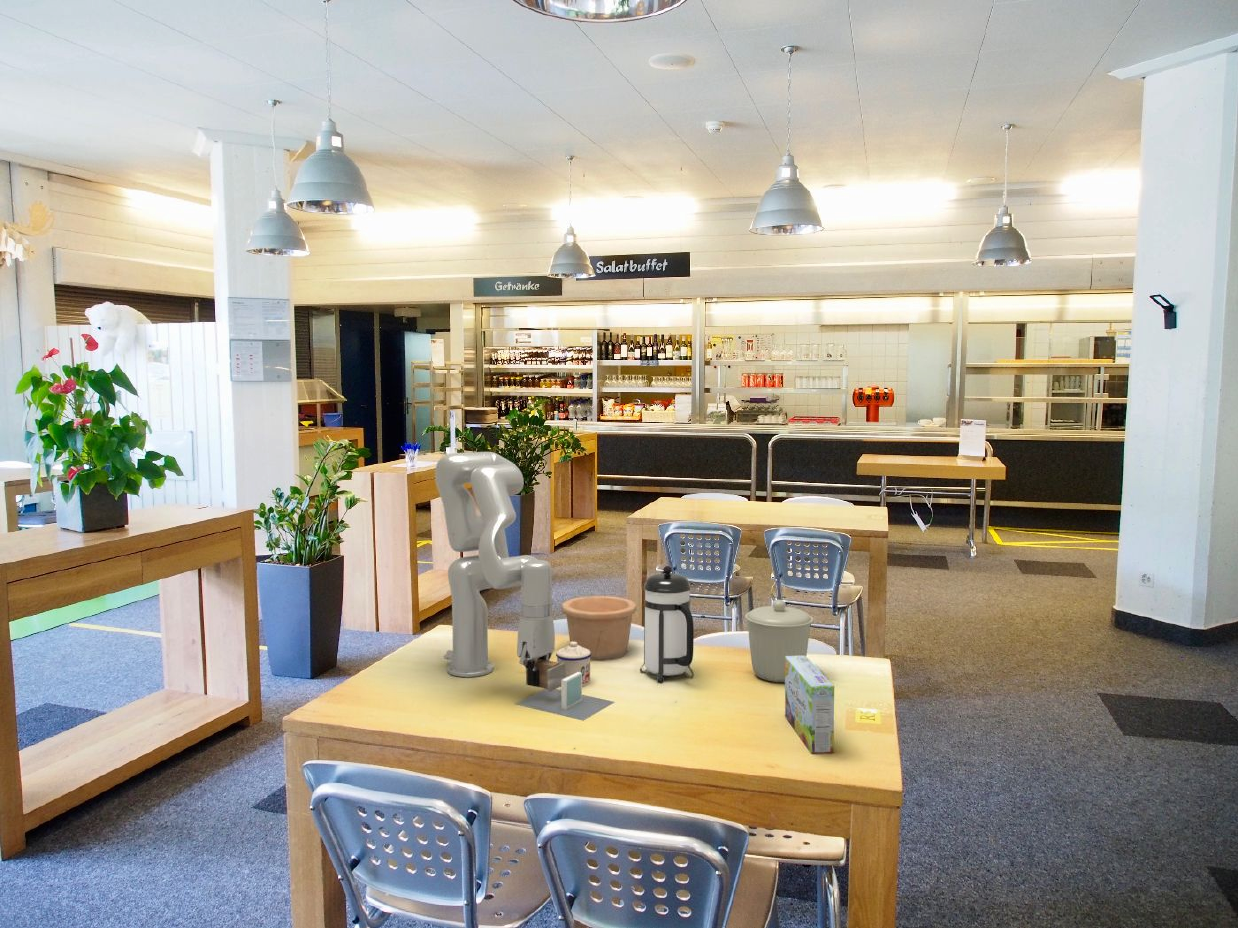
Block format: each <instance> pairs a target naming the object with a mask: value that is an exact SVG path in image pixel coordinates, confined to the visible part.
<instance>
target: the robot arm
mask: <svg viewBox="0 0 1238 928" xmlns="http://www.w3.org/2000/svg"><path fill="white" fill-rule="evenodd" d="M434 470H435V471H434V480H435V485H436V488H437V491H438V493H439V496H440V499H441V501H442V505H443V512H444V518H445V526H446V531H447V538H448V542H449V543H448V544H449V545H450V548H451V550H453V551H455V552H458V553H466V552H475V551H477V552H478V554H477V555H475V554H474V555H471V556H464V557H459V558H458V559H457V558H456V559H455V560H454V561H452V562H451V563H450V565H449V567H448V570H447V580H448V583H449V584H448V585H449V590H450V595H451V615H452V616H451V618H452V650H451V649H448V650H447V651H446V653H445V654H444V655H443V659H445V660H449V664H448V666H447V668H446V669H447V670H446V671H447V673H448V674H449V675H451V676H454V677H462V678H474V677H480V676H484V675H487V674H490V673H492V672H493V671H494V668H495V667H494V663H493V662H491V661H489V643H488V642H489V638H488V636H489V635H488V634H489V632H488V631H489V630H488V627H489V625H488V618H489V617H488V606H487V602H486V601H485V599H484V597H482V595H481V593H480V591H483V590H487V589H488V590H489V589H495V590H502V589H503V590H504V589H510V588H515V587H520V593H521V594H520V596H521V597H520V598H521V599H520V601H521V602H520V603H521V604H520V605H521V607H520V609H521V617H520V618H519V622H518V628H517V629H518V631H517V657H518V658H520V659H519V660H518V661H519V665H522V666H524V667H525V671H526V670H527V684H528V685H527V686H531V687H536V688H539V687H538V686H539V671H538V670H537V664H538V659H542V660H547V661H551V660H550V659H551V657H552V655H553V654H554V652H555V650H556V648H555V646H556V638H555V637H556V636H555V624H554V623H555V622H554V617H553V587H552V586H553V585H552V584H553V581H552V565H551V563H550V562H549V561H547V560H544V559H538V558H536V557H535V556H533V555H529V554H528V555H527V554H524V555H518V556H517V555H516V556H509V549H508V542H507V538H506V537H507V536H506V530H505V529H507V528H508V527H509V526H510V525H512V524H513V523H514V522H515V521H516V519H517V513H516V511H515V508H514V505H513V502H512V500H511V498H510V496H515V495H518V494H520V492H522V490H523V488H524V476H523V473H522V471H521V470H520V468H519V467H518V466H517V465H516V464H514V462H512V461H511V460H509V459H507V458H505V457H503V456H502V455H500V454H498V453H496V452H494V451H476V452H473V451H472V452H456V453H450V454H447V455H444V456H442V457H441V458H439V459H438V461H437V463H436V465H435V469H434ZM464 484H465V485H466V484H470V487H471V490H472V494H473V495H472V494H471V492H470V491H469V490H468V489H467V488H466V487H465V486H464ZM473 496H474V497H473ZM474 498H475V499H474ZM475 501H476V503H475ZM476 505H477V507H478V510H479V513H480V515H478V513H477V511H476ZM530 660H531V661H533V664H532V662H530Z"/></svg>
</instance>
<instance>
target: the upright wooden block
mask: <svg viewBox="0 0 1238 928" xmlns="http://www.w3.org/2000/svg"><path fill="white" fill-rule="evenodd" d="M530 662H532V664H533V661H531V660H530ZM537 670H538V671H539V686H538V687H537V688H540V689H548V692H550V691H552V690H554V689H558V688H560V687H561V680H563V679H565V678H566V663H562V664H560V665H559V663H558V662H557V661H551V660H549V661H547V660H542V659H538V664H537ZM525 678H526V679H525V683H526V685H527V686H529V685H528V684H527V670H526V669H525Z"/></svg>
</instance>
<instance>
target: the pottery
mask: <svg viewBox="0 0 1238 928" xmlns="http://www.w3.org/2000/svg"><path fill="white" fill-rule="evenodd" d="M637 607H638V606H637V604H636V602H634V601H633V600H631V599H628V598H623V597H619V596H612V595H592V596H591V595H590V596H588V595H587V596H580V597H575V598H574V597H573V598H571V599H568V600H566V601H564V602H563V603H562V604H561V610H562V613H563V614H565V615H566V623H567V630H568V637H569V643H570V642H577V645H579V646H581V647H583V648H586V649H588V650H589V651H590V653H591V656H590V661H609V660H616V659H619V658H622V657H624V656H626V654H627V653H628V650H629V649H628V648H629V641H630V633H631V628H632V621H633V615H634V614H635V613H636V611H637Z"/></svg>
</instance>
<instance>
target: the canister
mask: <svg viewBox="0 0 1238 928" xmlns="http://www.w3.org/2000/svg"><path fill="white" fill-rule="evenodd" d="M744 618H745V619H746V621H747V629H748V631H747V632H748V640H749V652H750V658H751V666H752V670H753V672H754V674H755V675H756V677H758V678H760V679H761V680H764V681H768V682H775V683H785V656H806V657H807V654H808V649H809V647H808V646H809V640H810V639H809V638H810V633H811V624H813V622H814V617H813V616H812V615H811V614H809V613H807V612H806V611H805V610H803V609H799V608H795V607H791V606H790V607H789V606H787V604H786V601H784V600H783V599H775V600H773V602H772V605H768V606H767V605H765V606H759V607H756V608H754V609H752V610H750V611H748V612H747V613H746V614H745V615H744Z"/></svg>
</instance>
